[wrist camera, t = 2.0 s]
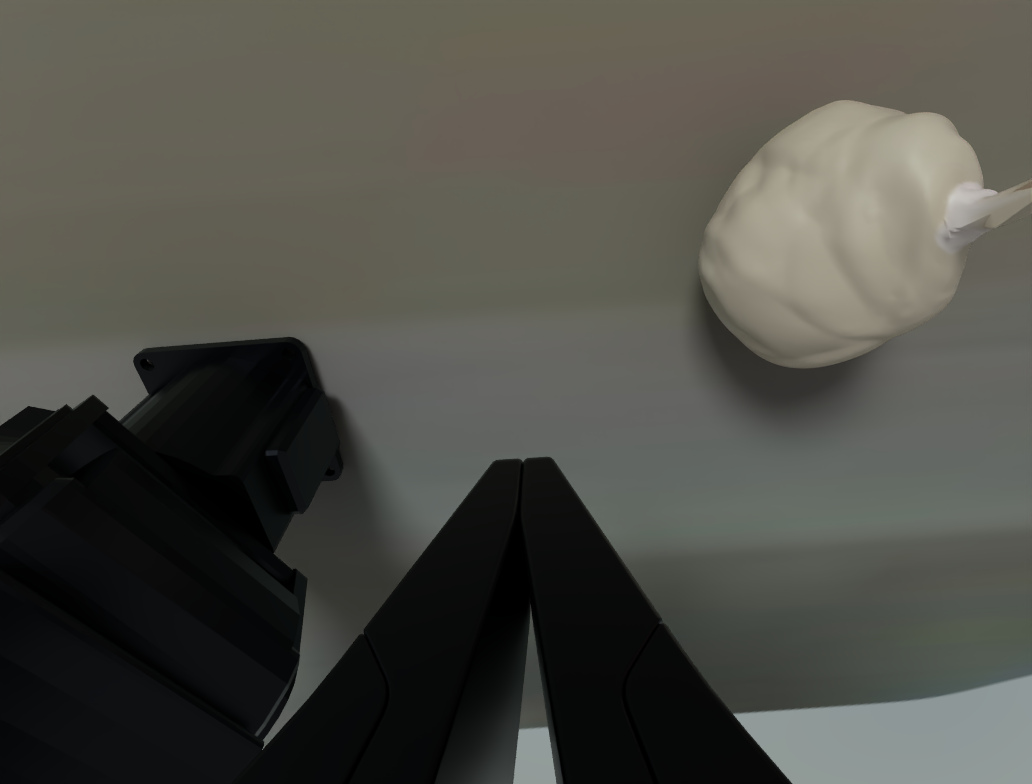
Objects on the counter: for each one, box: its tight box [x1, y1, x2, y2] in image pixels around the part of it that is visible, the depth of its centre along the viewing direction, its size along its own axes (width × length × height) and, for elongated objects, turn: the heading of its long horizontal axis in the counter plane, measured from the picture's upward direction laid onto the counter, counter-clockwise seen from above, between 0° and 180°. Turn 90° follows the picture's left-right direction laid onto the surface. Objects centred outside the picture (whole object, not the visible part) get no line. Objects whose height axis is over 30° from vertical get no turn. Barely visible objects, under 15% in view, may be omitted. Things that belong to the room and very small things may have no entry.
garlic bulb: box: [698, 100, 1032, 368], centre depth 15 cm, size 7×6×8 cm
